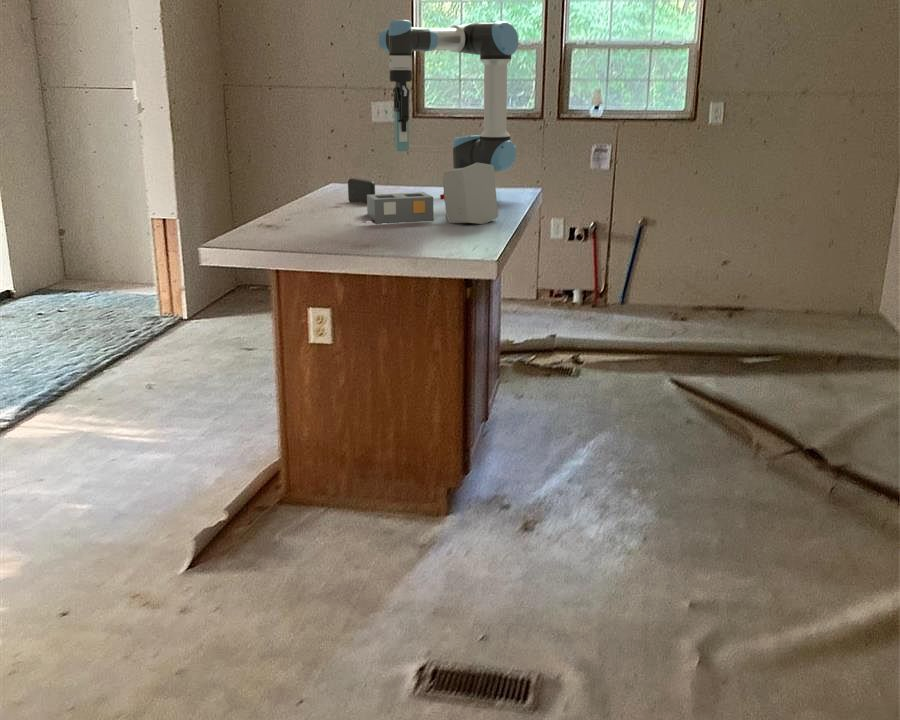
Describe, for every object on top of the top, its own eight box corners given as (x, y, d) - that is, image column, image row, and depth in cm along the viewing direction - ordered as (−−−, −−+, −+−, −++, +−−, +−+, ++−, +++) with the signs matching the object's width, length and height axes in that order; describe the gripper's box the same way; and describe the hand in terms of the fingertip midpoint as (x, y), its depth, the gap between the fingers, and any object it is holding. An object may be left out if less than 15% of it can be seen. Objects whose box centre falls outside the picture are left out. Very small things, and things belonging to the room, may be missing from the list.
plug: (406, 149, 309) (405, 108, 305) (409, 151, 305) (408, 108, 301) (394, 150, 308) (393, 108, 304) (397, 151, 304) (396, 108, 300)
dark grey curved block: (382, 207, 328) (381, 181, 325) (371, 208, 326) (371, 182, 323) (357, 202, 340) (356, 177, 337) (347, 203, 338) (346, 178, 334)
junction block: (423, 215, 310) (423, 192, 308) (433, 221, 299) (433, 197, 296) (367, 218, 305) (366, 194, 302) (375, 224, 293) (374, 199, 291)
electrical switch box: (467, 222, 309) (461, 164, 305) (498, 221, 298) (493, 160, 294) (437, 227, 299) (430, 167, 295) (468, 226, 289) (462, 164, 285)
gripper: (384, 69, 305) (385, 139, 312) (395, 69, 289) (396, 143, 297) (405, 69, 307) (406, 138, 314) (417, 69, 291) (418, 142, 299)
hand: (401, 140), depth 306 cm, fingers closed on plug, 4 cm apart
